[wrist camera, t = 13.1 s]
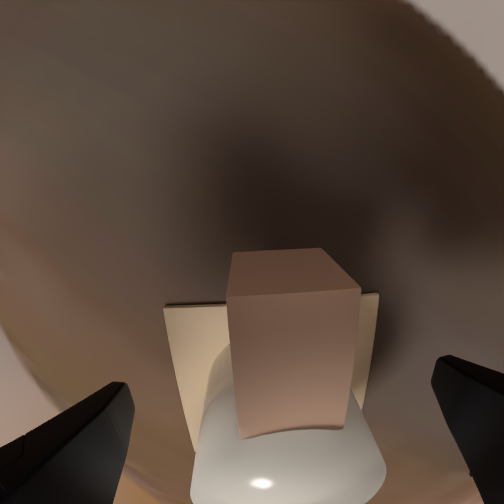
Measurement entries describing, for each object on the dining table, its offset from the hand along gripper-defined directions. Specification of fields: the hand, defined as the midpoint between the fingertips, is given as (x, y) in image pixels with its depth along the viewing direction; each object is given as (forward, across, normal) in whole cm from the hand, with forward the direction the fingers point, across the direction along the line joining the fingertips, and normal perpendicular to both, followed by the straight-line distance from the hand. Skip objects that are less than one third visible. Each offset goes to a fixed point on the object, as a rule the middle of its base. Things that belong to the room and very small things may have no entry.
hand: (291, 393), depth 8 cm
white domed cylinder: (+6, 0, +2) cm, 7 cm away
